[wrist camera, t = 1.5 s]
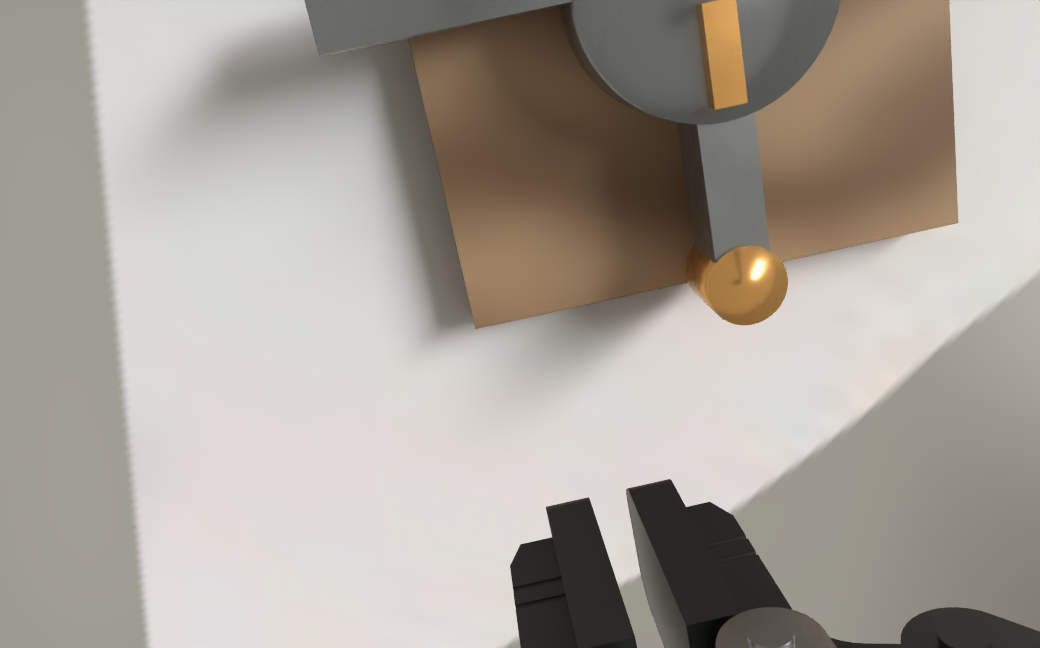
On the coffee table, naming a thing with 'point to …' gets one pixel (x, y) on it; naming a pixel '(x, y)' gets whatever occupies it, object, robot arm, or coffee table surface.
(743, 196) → the spoked handwheel
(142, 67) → the coffee table surface
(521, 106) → the stand board
